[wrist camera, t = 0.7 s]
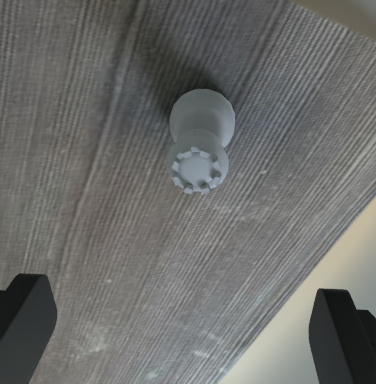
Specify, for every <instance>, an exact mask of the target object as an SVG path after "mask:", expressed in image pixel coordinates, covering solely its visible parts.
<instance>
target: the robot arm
mask: <svg viewBox="0 0 376 384" xmlns="http://www.w3.org/2000/svg"><path fill="white" fill-rule="evenodd" d="M56 321H57V308H56V304H55V301H54V297H53V294H52V290H51V287H50V283H49V280H48V277H47V276H46V275H44V274H22V273H20V274H18V275H17V276H16V277H15V278H14V279H13V281H12V282H11V284H10V285H9V286H8V288H7V289H6V291H2V290H0V384H29V381H30V379H31V377H32V375H33V373H34V371H35V369H36V367H37V365H38V363H39V360H40V358H41V356H42V354H43V352H44V350H45V348H46V346H47V344H48V342H49V339H50V337H51V335H52V333H53V331H54V329H55V325H56ZM309 343H310V347H311V352H312V355H313V359H314V364H315V368H316V372H317V376H318V380H319V384H376V318H375V317H374V316H373V315H372V314H371V313H370V312H369V311H368V310H356V307H355V305H354V302H353V300H352V298H351V296H350V293H349V292H348V291H347V290H342V289H318V291H317V293H316V298H315V302H314V306H313V310H312V314H311V318H310V323H309Z"/></svg>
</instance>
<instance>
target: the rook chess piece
mask: <svg viewBox="0 0 376 384" xmlns="http://www.w3.org/2000/svg"><path fill="white" fill-rule="evenodd" d="M169 122H170V133H171V135H172V137H173V139H174V141H175V144H174V145H173V146H172V147H171V148H170V150H169V153H168V156H167V158H166V163H167V171H168V173H169V175H170V177H171V178H172V180H173V181H174V183H175V185H179V186H180V187H181V188H184V190H183V192H186V193H189V194H192V193H193V191H201V194H202V195H203V194H205V193H208V192H211V189H212V188H215V187H216V186H218V184H220V183H221V182H222V181H223V180H224V178H225V176H226V174H227V172H228V164H229V159H228V157H227V154H226V152H225V150H224V148H225V147H226V146H227V145H228V144H229V142H230V140H231V138H232V136H233V134H234V128H235V113H234V111H233V108H232V106H231V103H230V102H229V101H228V100H227V99H226V98H225V97H224V96H223V95H222V94H220V93H218V92H215V91H213V90H210V89H194V90H192V91H190V92H188V93H185V94H183V95H182V96H181V97H180V98H179V99H178V100H177V101H176V103H175V104H174V106H173V108H172V111H171V114H170V120H169Z"/></svg>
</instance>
